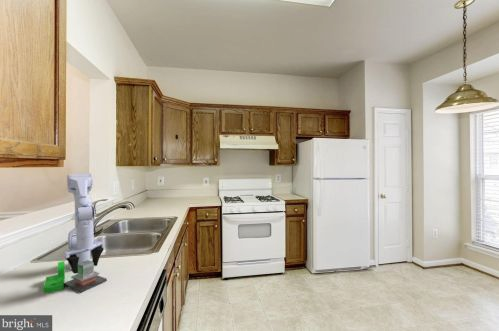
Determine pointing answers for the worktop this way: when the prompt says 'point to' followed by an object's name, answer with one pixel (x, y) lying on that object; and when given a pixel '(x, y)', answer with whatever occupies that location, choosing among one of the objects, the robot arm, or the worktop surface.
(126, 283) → the worktop surface
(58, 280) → the mechanical part
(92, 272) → the green-striped metal cube
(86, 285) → the dark grey rectangular tray
